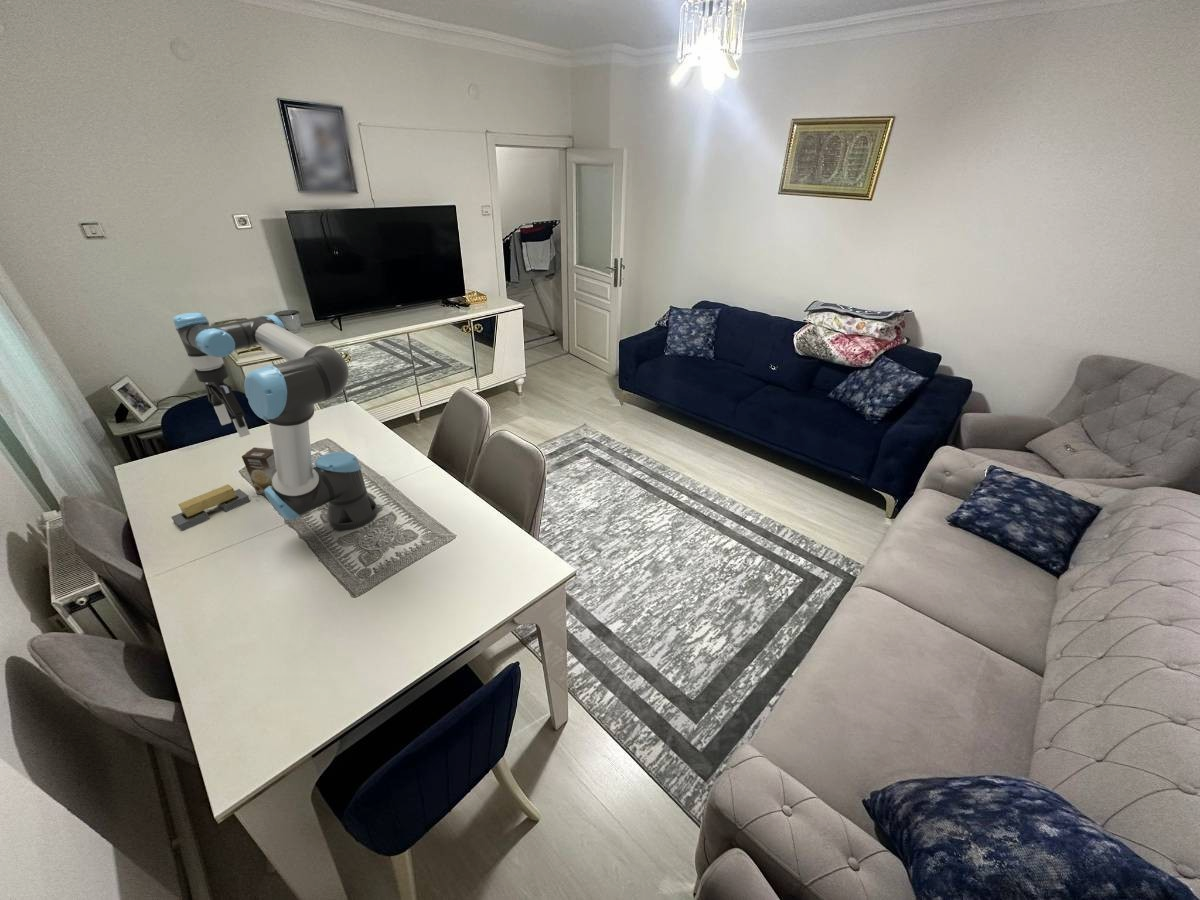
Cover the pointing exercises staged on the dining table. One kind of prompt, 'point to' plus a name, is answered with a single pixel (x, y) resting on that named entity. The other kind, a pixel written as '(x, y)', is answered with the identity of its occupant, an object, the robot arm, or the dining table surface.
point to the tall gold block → (207, 501)
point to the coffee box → (260, 467)
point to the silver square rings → (203, 516)
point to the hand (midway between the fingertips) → (235, 429)
